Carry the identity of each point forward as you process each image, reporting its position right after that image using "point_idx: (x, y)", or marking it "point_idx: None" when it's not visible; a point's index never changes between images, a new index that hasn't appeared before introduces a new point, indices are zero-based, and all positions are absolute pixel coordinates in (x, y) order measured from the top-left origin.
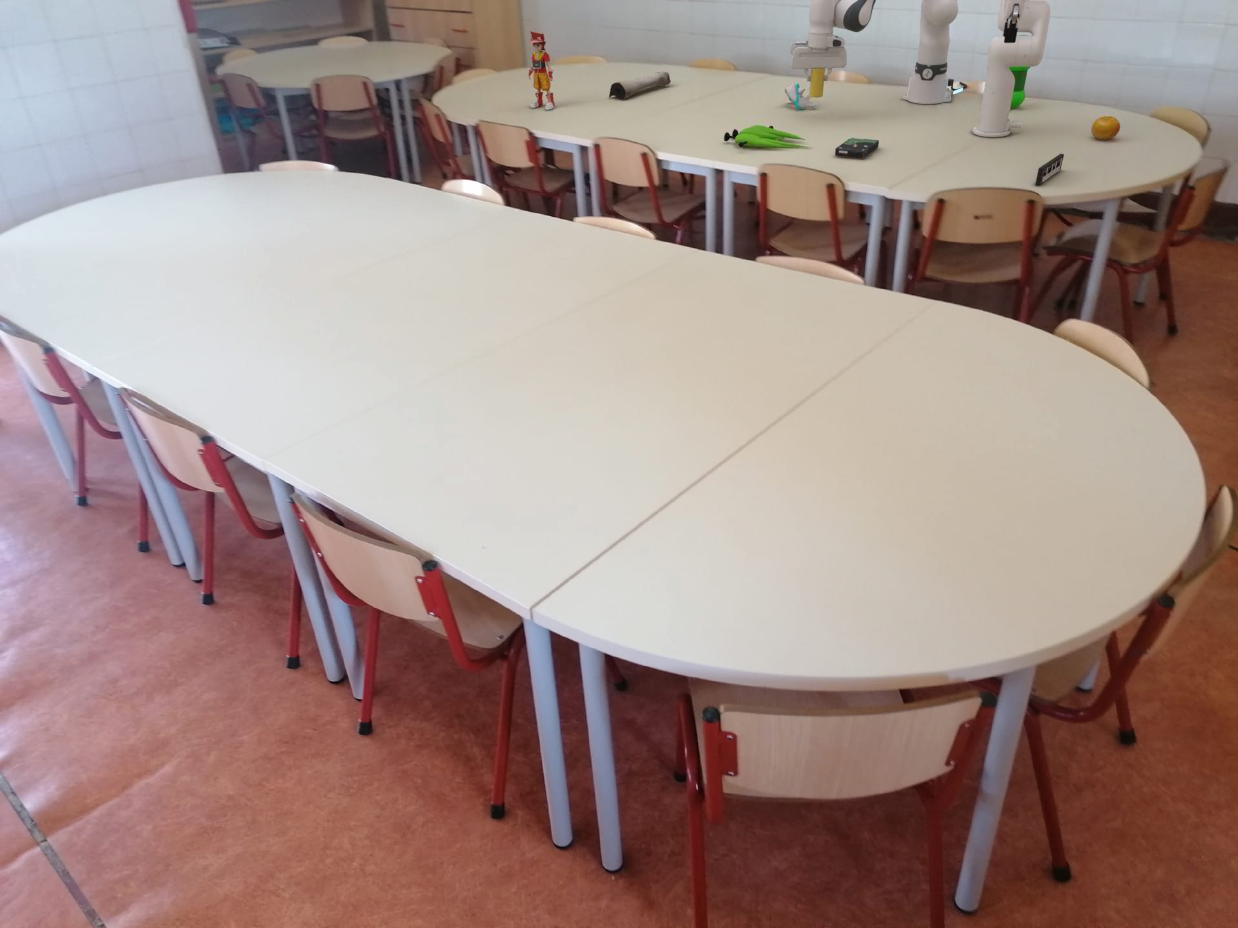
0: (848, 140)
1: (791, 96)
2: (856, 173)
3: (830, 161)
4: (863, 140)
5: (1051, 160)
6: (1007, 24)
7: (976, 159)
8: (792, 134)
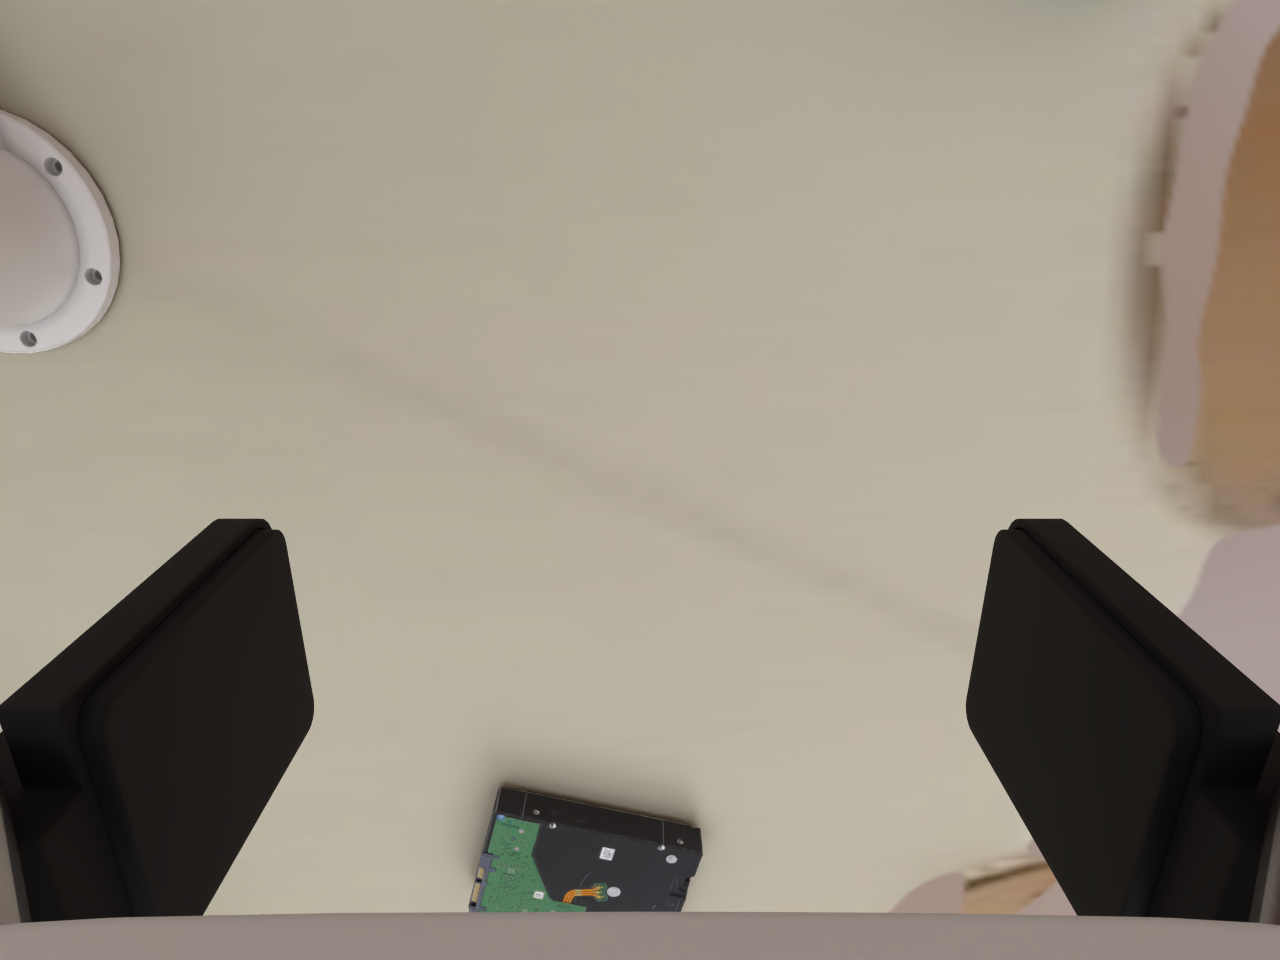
0: None
1: None
2: (896, 831)
3: None
4: (505, 869)
5: None
6: (177, 896)
7: (609, 326)
8: None
